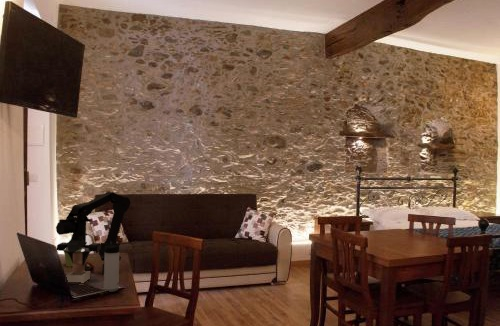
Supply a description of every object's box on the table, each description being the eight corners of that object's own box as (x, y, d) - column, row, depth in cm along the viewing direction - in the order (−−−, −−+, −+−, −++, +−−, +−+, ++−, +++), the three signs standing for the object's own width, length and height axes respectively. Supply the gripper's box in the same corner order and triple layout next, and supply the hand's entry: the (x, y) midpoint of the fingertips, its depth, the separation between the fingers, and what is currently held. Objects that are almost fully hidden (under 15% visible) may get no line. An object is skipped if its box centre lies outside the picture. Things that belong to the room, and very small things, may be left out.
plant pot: (58, 266, 221) (59, 250, 221) (71, 262, 230) (71, 247, 230) (73, 268, 218) (73, 252, 218) (85, 264, 227) (85, 248, 227)
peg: (84, 270, 196) (84, 251, 196) (81, 272, 192) (81, 253, 192) (75, 270, 196) (76, 251, 196) (72, 272, 192) (72, 253, 192)
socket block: (89, 279, 198) (90, 271, 198) (83, 284, 190) (83, 275, 190) (73, 279, 198) (73, 270, 198) (65, 284, 190) (66, 275, 190)
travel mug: (121, 289, 184) (123, 244, 184) (107, 292, 179) (109, 246, 179) (114, 286, 188) (115, 242, 188) (100, 289, 183) (102, 244, 183)
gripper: (51, 234, 186) (50, 269, 186) (93, 235, 186) (92, 270, 186) (62, 230, 197) (61, 263, 197) (101, 231, 198) (101, 264, 197)
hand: (78, 265), depth 194 cm, fingers closed on peg, 4 cm apart
